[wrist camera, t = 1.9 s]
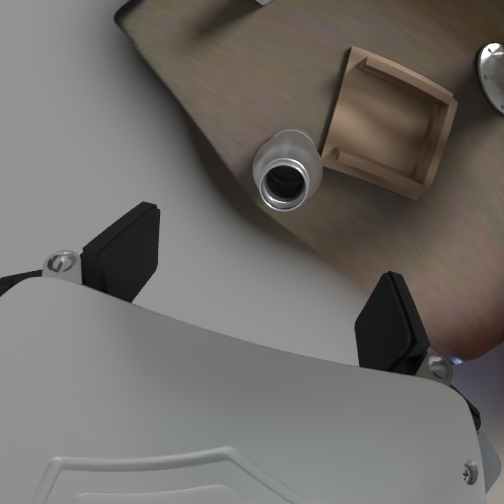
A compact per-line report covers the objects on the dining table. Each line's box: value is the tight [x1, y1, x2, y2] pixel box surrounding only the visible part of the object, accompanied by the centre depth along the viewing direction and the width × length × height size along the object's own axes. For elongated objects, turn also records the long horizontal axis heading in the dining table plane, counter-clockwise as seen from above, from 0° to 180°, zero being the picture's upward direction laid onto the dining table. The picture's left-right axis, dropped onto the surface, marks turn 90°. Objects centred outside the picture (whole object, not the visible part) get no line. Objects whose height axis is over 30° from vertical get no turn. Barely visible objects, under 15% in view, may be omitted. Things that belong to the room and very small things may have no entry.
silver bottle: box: [253, 126, 323, 212], centre depth 28 cm, size 6×7×20 cm
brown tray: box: [320, 46, 458, 201], centre depth 29 cm, size 18×16×6 cm
